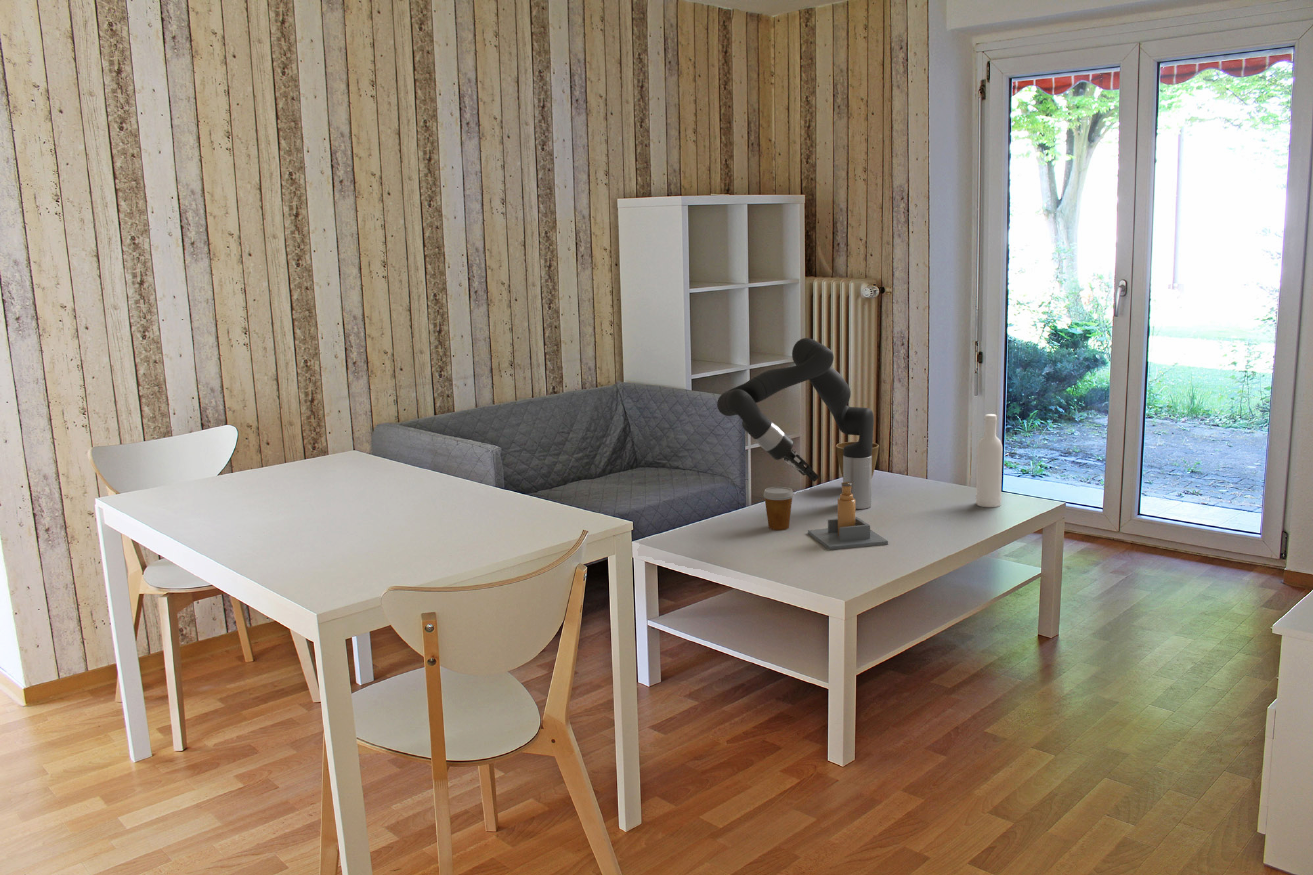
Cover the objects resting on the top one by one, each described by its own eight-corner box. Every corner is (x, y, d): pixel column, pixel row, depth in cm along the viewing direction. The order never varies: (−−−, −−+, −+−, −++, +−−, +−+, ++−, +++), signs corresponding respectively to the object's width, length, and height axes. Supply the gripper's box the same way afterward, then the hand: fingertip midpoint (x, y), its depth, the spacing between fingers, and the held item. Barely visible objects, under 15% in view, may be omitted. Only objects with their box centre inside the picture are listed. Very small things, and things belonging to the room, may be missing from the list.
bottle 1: (834, 534, 306) (834, 482, 303) (850, 532, 307) (850, 480, 304) (842, 538, 301) (842, 485, 298) (858, 536, 302) (858, 484, 299)
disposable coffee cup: (800, 526, 319) (799, 489, 316) (782, 533, 312) (781, 495, 309) (775, 521, 325) (775, 485, 323) (757, 528, 318) (756, 490, 316)
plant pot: (887, 489, 361) (887, 445, 358) (855, 496, 353) (855, 451, 350) (859, 482, 373) (859, 439, 370) (827, 488, 366) (827, 444, 363)
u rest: (829, 550, 294) (829, 533, 293) (807, 533, 311) (807, 517, 310) (888, 544, 297) (888, 527, 296) (863, 528, 314) (863, 512, 314)
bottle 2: (1002, 507, 332) (1005, 417, 327) (977, 507, 334) (979, 417, 328) (999, 501, 340) (1002, 412, 334) (974, 501, 341) (976, 412, 336)
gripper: (790, 434, 287) (828, 471, 291) (774, 426, 300) (811, 461, 305) (772, 454, 287) (811, 491, 291) (757, 445, 300) (794, 480, 305)
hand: (811, 476), depth 298 cm, fingers open, 8 cm apart
